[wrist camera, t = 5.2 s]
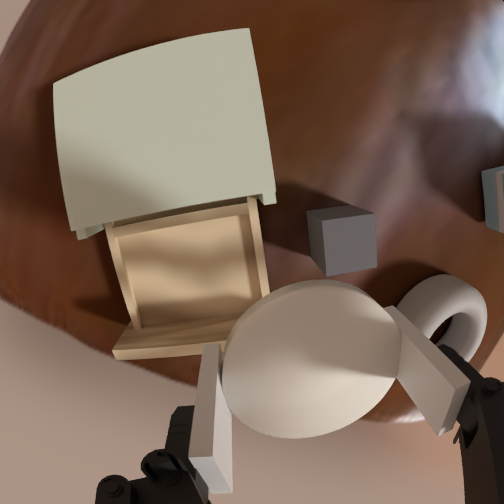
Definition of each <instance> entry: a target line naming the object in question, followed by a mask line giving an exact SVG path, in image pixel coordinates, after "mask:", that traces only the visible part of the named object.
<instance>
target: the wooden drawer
mask: <svg viewBox="0 0 504 504" xmlns="http://www.w3.org/2000/svg"><path fill="white" fill-rule="evenodd" d="M104 226H105V230H106V234H107V238H108V243H109V247H110V251H111V254H112V258H113V262H114V266H115V269H116V273H117V276H118V280H119V283H120V286H121V290H122V293H123V296H124V299H125V303H126V306H127V309H128V312H129V315H130V318H131V321H130V322H129V324H128V326H127V327H126V329H125V330H124V332H123V334H122V335H121V337H120V338H119V340H118V342H117V343H116V345H115V346H114V348H113V350H112V351H113V354H114V356H115V358H116V360H128V359H147V358H162V357H175V356H186V355H196V354H202V353H203V346H204V345H208V344H215V343H219V344H220V347H221V351H222V352H223V351H224V348H225V344H226V341H227V338H228V336H229V334H230V332H231V330H232V328H233V327H234V325H235V324H236V322H237V321H238V319H239V318H240V317H241V316H242V315H243V314H244V313H245V311H246V310H248V309H249V308H250V307H251V306H252V305H253V304H254V303H256V302H257V301H259V300H260V299H261V298H263V297H264V296H266V295H268V294H270V291H269V284H268V277H267V270H266V263H265V256H264V249H263V242H262V236H261V229H260V222H259V215H258V209H257V202H256V195H250V196H243V197H237V198H231V199H225V200H219V201H213V202H207V203H202V204H196V205H190V206H185V207H180V208H174V209H169V210H164V211H159V212H154V213H149V214H144V215H140V216H135V217H130V218H126V219H121V220H117V221H112V222H108V223H104Z"/></svg>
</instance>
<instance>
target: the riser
mask: <svg viewBox="0 0 504 504" xmlns="http://www.w3.org/2000/svg"><path fill="white" fill-rule="evenodd" d="M306 217H307V226H308V235H309V245H310V255H311V258H312V259H313V261H314V262H315V263H316V264H317V266H318V267H319V268H320V269H321V271H322V272H323V273H324V274H325V276H326V277H328V276H333V275H339V274H344V273H349V272H355V271H360V270H365V269H370V268H375V267H377V243H376V220H375V213H372V212H370V211H367V210H364V209H361V208H358V207H355V206H353V205H346V206H338V207H330V208H323V209H316V210H308V211H306Z"/></svg>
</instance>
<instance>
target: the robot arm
mask: <svg viewBox="0 0 504 504" xmlns="http://www.w3.org/2000/svg"><path fill="white" fill-rule="evenodd" d="M503 1H504V0H503ZM383 309H384V310H385V311H386V312H387V313H388V314H389V315H390V316H391V318H392V319H393V320H394V322H395V323H396V325H397V327H398V329H399V332H400V335H401V339H402V343H401V352H400V360H399V368H398V373H397V376H396V378H397V379H398V380H399V382H400V383H401V385H402V386H403V387H404V389H405V390H406V392H407V393H408V395H409V396H410V397H411V399H412V400H413V402H414V403H415V404H416V406H417V407H418V409H419V410H420V412H421V413H422V415H423V416H424V417H425V419H426V420H427V422H428V423H429V425H430V426H431V428H432V429H433V431H434V432H435V434H436V435H437V436H440V435H442V434H444V433H446V432H448V431H450V430H451V429H453V426H454V424H455V422H456V420H457V421H458V422H459V424H460V427H459V430H458V432H457V434H456V436H455V438H454V440H453V444H455V443H456V441H457V439H458V438H459V443H460V449H461V456H462V466H463V476H464V491H465V504H504V382H501V381H499V380H498V379H495V378H492V377H489V378H483V377H482V376H481V375H480V374H479V373H478V372H477V371H476V370H475V369H474V368H473V367H472V366H471V365H470V364H469V363H468V362H467V361H465V360H464V358H463V357H462V356H459V354H458V353H457V352H456V351H455V350H454V349H453V348H451V347H449V346H447V345H445V344H442V345H439V346H437V347H436V346H435V345H434V344H433V343H432V342H431V341H430V340H429V339H428V338H427V337H426V336H425V335H424V334H423V333H422V332H421V331H420V330H419V329H418V328H417V327H415V326H414V325H413V324H412V323H411V322H410V321H409V320H408V319H407V318H406V317H405V316H404V315H403V314H402V313H401V312H399V311H398V310H397V309H396V308H395V307H394V306H393V305H392V306H389V307H385V308H383ZM222 370H223V355H222V351H221V347H220V344H219V343H215V344H208V345H204V346H203V353H202V359H201V366H200V373H199V379H198V386H197V393H196V400H195V405H193V406H180V407H177V409H176V410H175V411H174V413H173V414H172V415H171V420H170V427H169V430H168V435H167V440H166V444H165V449H159V450H154V451H152V452H150V453H148V454H147V455H146V456H145V457H144V458H143V460H142V462H141V470H142V471H143V473H144V474H145V475H146V476H147V477H145V478H141V479H136V480H131V481H128V480H127V479H126V478H124V477H123V476H120V475H110V476H107V477H105V478H104V479H102V480H101V481H100V482H99V484H98V487H97V492H96V499H95V504H211V502H210V500H208V489H209V490H210V492H211V493H212V494H227V493H233V481H232V418H231V417H232V414H231V410H230V408H229V407H228V405H227V402H226V400H225V397H224V394H223V389H222Z"/></svg>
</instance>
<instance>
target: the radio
mask: <svg viewBox="0 0 504 504" xmlns="http://www.w3.org/2000/svg"><path fill="white" fill-rule="evenodd" d="M481 175H482V184H483V194H484V206H485V224H486V227H488V228H490V229H493V230H496V231H499V232H502V233H504V166H501V167H496V168H492V169H487V170H484V171H482V172H481Z"/></svg>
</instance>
